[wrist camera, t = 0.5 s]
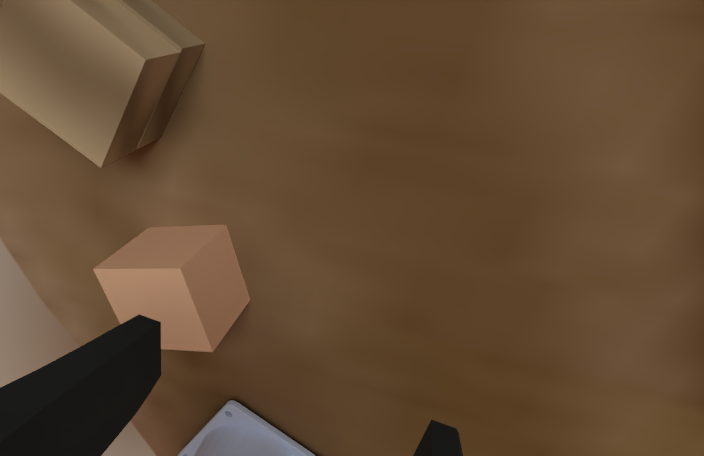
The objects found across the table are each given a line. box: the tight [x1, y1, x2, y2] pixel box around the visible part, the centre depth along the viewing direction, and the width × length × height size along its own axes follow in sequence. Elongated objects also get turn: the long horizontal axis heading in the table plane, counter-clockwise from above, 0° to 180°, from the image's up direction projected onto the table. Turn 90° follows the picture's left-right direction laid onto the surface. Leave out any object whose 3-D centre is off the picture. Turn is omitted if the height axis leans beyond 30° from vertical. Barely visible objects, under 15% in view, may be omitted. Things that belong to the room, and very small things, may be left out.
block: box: [93, 225, 250, 352], centre depth 21 cm, size 4×4×4 cm
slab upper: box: [0, 0, 180, 168], centre depth 16 cm, size 5×5×2 cm
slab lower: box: [116, 0, 205, 149], centre depth 18 cm, size 5×5×2 cm
